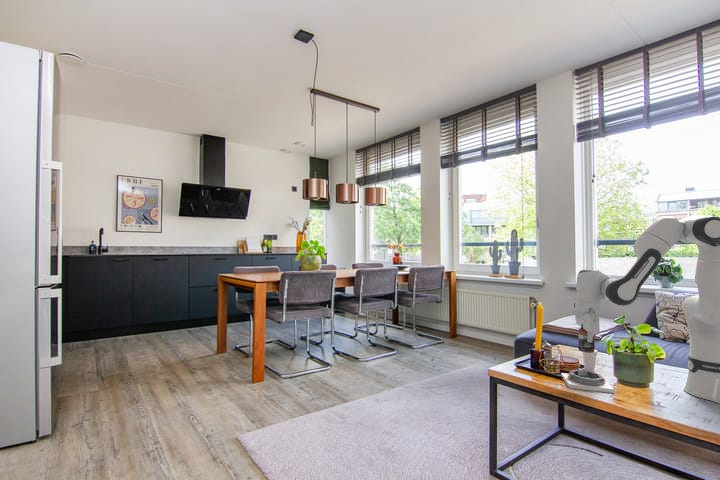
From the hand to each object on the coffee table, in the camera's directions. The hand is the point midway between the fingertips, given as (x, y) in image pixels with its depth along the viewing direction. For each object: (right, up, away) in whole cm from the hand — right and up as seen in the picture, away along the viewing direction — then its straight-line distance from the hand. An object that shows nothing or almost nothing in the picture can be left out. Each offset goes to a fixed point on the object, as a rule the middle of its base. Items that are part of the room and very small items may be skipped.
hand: (586, 339), depth 157 cm
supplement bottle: (0, -5, 0) cm, 5 cm away
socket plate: (0, -19, 0) cm, 19 cm away
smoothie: (+12, -19, +18) cm, 29 cm away
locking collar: (0, -17, 0) cm, 17 cm away
